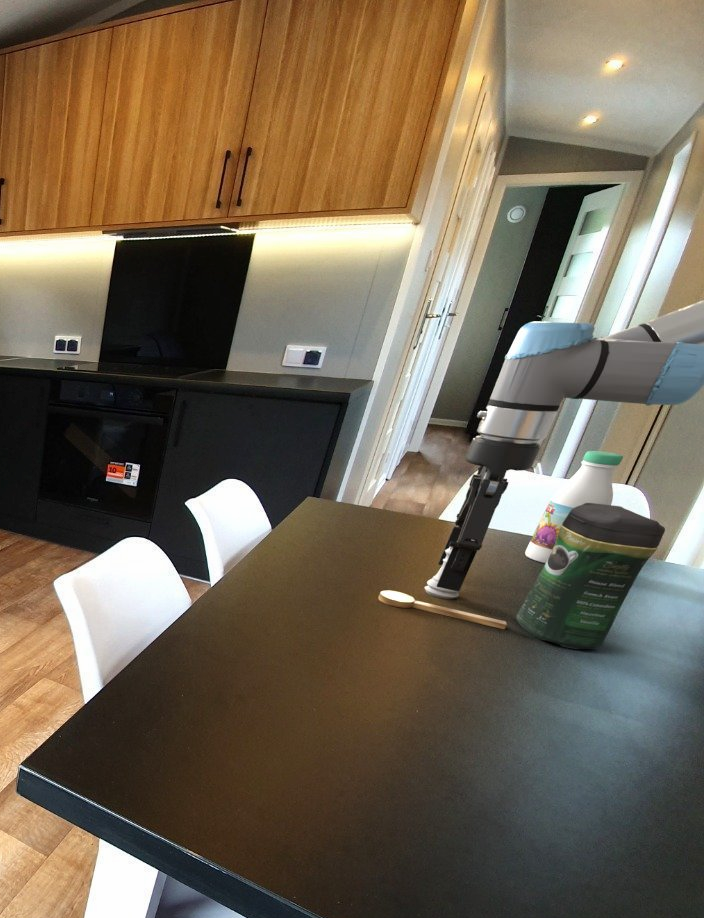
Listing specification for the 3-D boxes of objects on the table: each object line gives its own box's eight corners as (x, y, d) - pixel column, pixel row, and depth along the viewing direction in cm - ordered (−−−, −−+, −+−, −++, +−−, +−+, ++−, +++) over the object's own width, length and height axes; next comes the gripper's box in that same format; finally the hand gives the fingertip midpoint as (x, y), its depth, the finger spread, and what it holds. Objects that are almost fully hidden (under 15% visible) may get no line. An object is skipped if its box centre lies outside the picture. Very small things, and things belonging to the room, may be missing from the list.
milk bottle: (573, 559, 119) (628, 452, 110) (585, 571, 113) (644, 460, 104) (519, 550, 123) (569, 446, 114) (528, 562, 117) (581, 453, 108)
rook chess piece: (459, 594, 102) (479, 547, 98) (456, 602, 99) (477, 554, 95) (425, 586, 105) (444, 540, 101) (421, 593, 102) (440, 547, 98)
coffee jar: (610, 656, 84) (688, 523, 76) (536, 645, 87) (605, 514, 79) (571, 626, 92) (637, 503, 84) (504, 616, 95) (563, 495, 87)
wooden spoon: (503, 622, 93) (506, 616, 92) (505, 633, 90) (508, 627, 89) (379, 593, 101) (381, 587, 101) (377, 602, 98) (379, 596, 98)
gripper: (473, 425, 102) (421, 551, 111) (476, 446, 85) (415, 593, 94) (535, 431, 98) (476, 562, 107) (552, 455, 80) (480, 608, 90)
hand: (448, 576), depth 100 cm, fingers open, 12 cm apart
